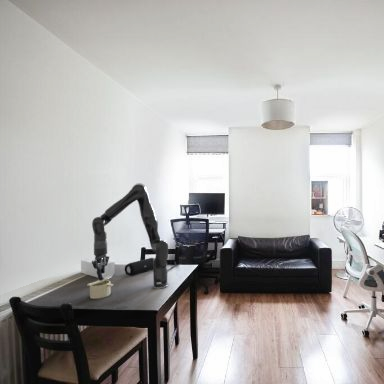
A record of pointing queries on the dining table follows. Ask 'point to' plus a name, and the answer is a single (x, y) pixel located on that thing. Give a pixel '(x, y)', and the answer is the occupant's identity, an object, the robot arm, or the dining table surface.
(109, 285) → the pot
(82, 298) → the dining table surface
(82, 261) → the white box
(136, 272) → the portable speaker
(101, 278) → the lid
